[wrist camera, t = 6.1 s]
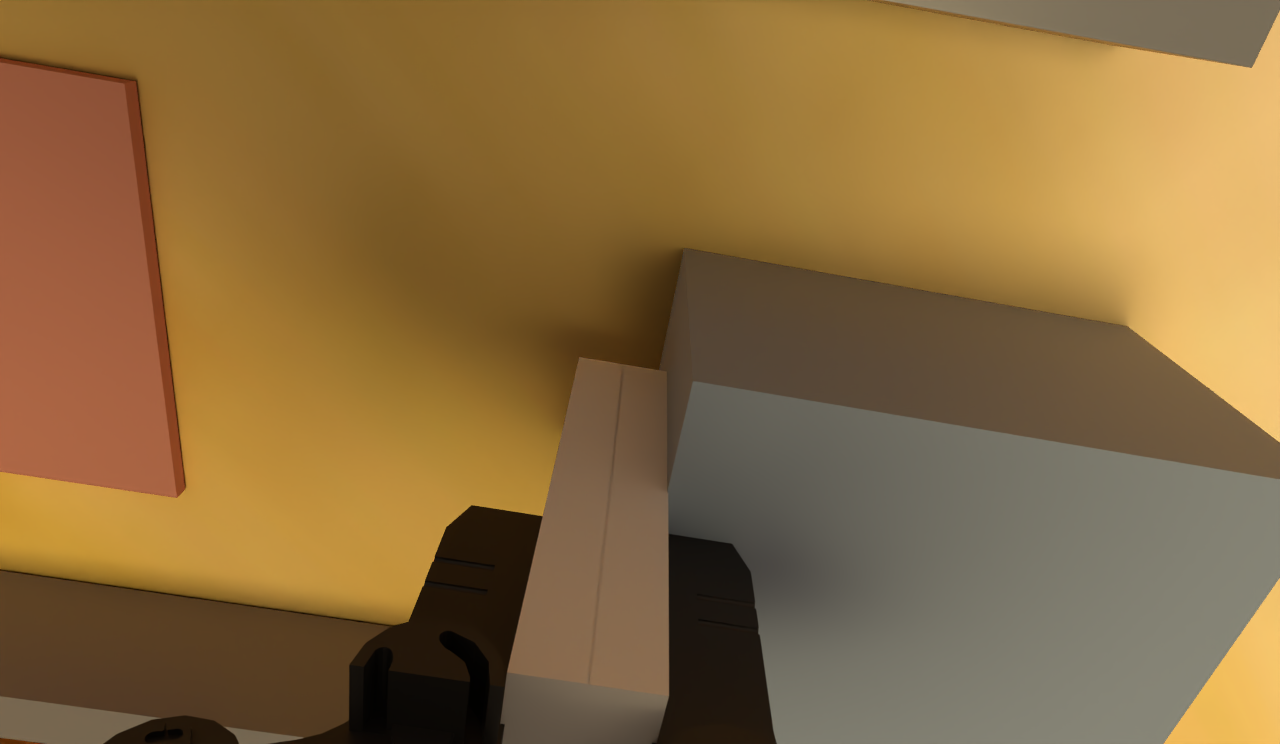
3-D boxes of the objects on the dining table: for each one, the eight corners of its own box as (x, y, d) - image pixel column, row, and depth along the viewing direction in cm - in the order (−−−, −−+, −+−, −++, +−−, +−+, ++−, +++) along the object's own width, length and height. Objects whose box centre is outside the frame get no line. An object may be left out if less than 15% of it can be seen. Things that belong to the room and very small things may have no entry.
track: (-287, -315, 10) (-615, -414, 8) (1157, -42, 11) (1307, -47, 9) (-21, 606, 18) (-143, 718, 15) (842, 728, 19) (871, 853, 16)
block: (684, 247, 14) (692, 381, 9) (1126, 325, 14) (1342, 490, 10) (626, 523, 16) (612, 729, 12) (999, 582, 17) (1121, 803, 12)
